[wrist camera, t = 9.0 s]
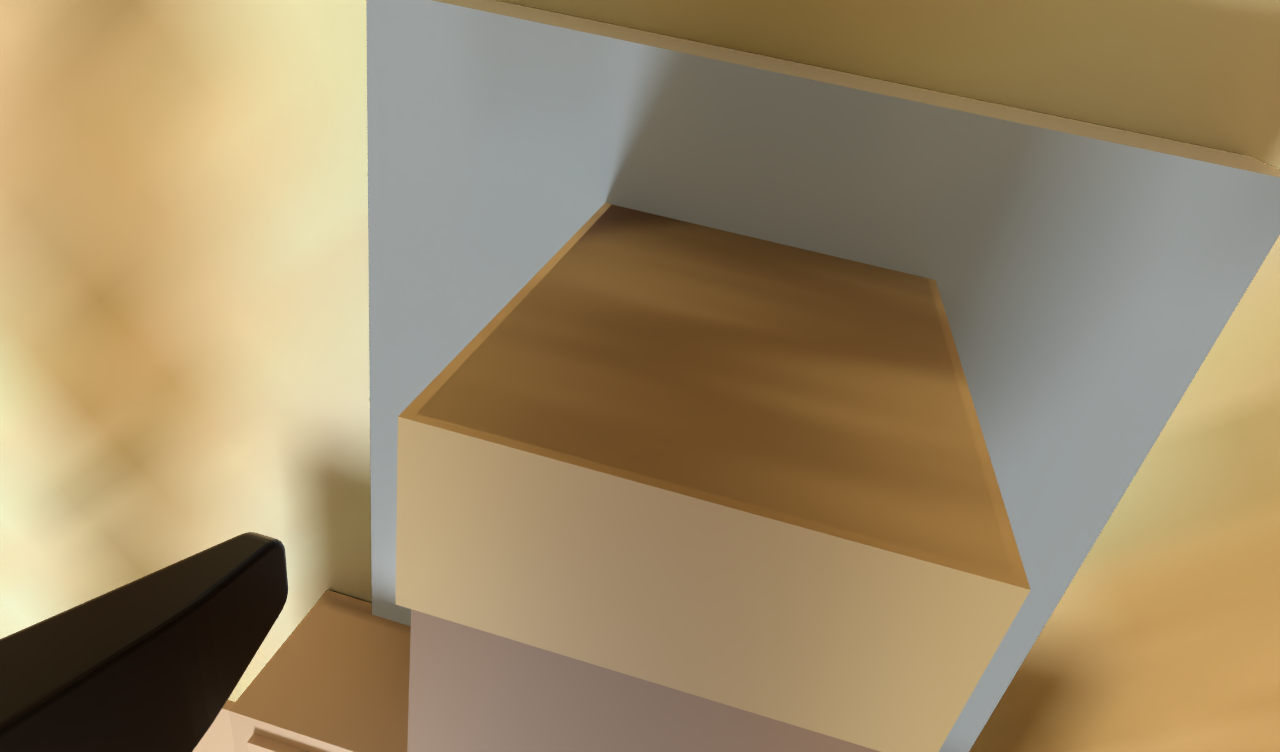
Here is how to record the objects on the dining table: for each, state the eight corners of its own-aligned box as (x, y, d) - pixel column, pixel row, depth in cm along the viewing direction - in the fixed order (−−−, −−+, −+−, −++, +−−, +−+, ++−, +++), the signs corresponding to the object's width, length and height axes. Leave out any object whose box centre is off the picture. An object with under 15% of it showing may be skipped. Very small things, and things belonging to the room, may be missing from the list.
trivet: (1251, 156, 10) (1310, 184, 9) (937, 724, 16) (945, 790, 15) (417, -17, 12) (366, -14, 11) (405, 566, 18) (371, 614, 16)
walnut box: (934, 279, 11) (1030, 589, 5) (785, 672, 15) (756, 1072, 9) (605, 202, 11) (398, 415, 6) (546, 601, 15) (391, 941, 10)
